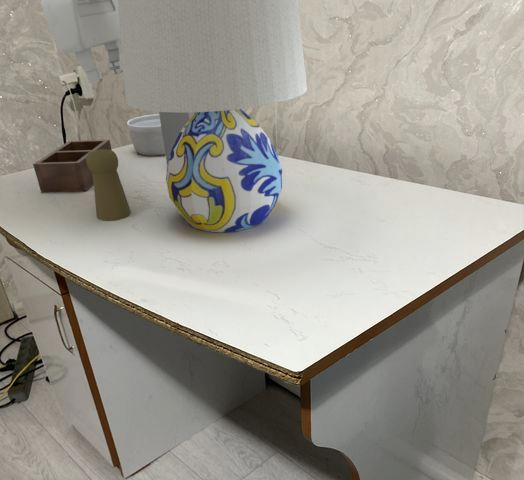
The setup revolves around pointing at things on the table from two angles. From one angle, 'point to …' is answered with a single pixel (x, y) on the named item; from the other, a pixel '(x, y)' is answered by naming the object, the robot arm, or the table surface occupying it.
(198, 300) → the table surface
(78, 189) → the wooden box
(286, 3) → the table lamp
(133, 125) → the ramekin
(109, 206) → the cork
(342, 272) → the table surface
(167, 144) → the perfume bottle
